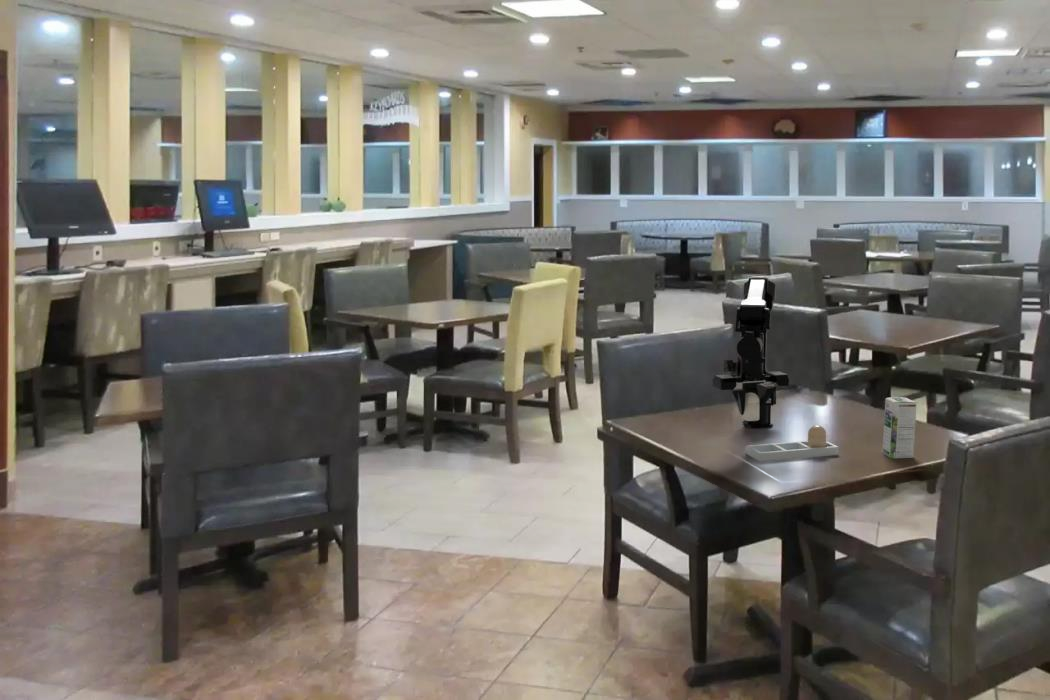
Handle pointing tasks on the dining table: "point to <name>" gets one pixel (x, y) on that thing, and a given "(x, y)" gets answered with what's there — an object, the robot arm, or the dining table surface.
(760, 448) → the divided compartment tray
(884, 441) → the syrup box
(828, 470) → the dining table surface
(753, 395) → the white capsule shape
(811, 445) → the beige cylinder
